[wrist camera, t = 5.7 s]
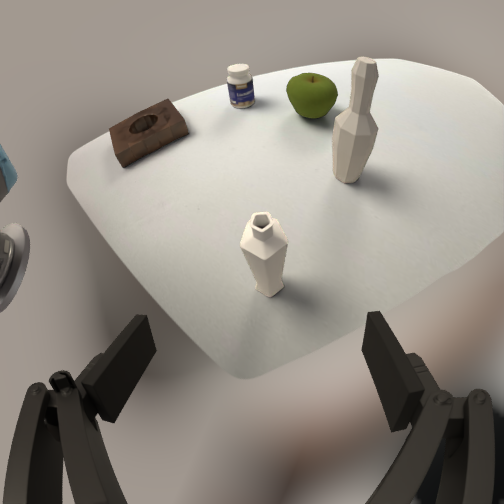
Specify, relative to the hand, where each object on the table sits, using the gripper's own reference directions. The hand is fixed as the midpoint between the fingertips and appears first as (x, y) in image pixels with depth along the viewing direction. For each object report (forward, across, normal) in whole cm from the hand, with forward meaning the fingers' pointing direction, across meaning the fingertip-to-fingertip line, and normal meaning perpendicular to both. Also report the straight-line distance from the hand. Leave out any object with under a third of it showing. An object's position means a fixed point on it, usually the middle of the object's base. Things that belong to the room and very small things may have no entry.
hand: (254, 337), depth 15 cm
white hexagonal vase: (+21, 0, -6) cm, 22 cm away
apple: (+48, +10, +21) cm, 54 cm away
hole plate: (+46, -26, +19) cm, 57 cm away
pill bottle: (+53, -5, +25) cm, 59 cm away
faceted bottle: (+35, +14, +8) cm, 39 cm away
